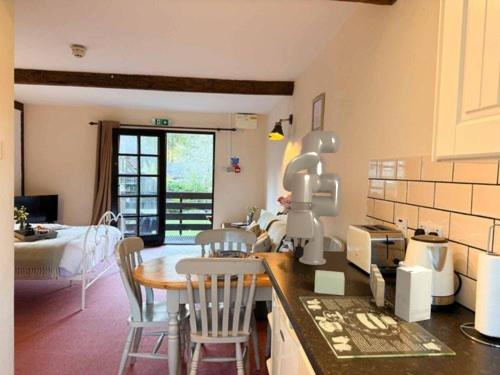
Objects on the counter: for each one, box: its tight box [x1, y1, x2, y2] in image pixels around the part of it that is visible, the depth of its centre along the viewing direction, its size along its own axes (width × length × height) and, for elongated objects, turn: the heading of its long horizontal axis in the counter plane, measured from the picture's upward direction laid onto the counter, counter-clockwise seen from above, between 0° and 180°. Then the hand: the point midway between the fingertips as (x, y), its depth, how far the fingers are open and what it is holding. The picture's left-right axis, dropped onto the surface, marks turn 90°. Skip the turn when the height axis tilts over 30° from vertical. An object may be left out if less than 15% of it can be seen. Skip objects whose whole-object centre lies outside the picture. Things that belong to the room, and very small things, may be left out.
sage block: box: [314, 269, 346, 296], centre depth 126 cm, size 8×10×6 cm
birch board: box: [369, 263, 386, 307], centre depth 123 cm, size 22×2×8 cm, turn 167°
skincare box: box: [394, 264, 434, 324], centre depth 103 cm, size 8×6×15 cm
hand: (299, 257), depth 128 cm, fingers closed
